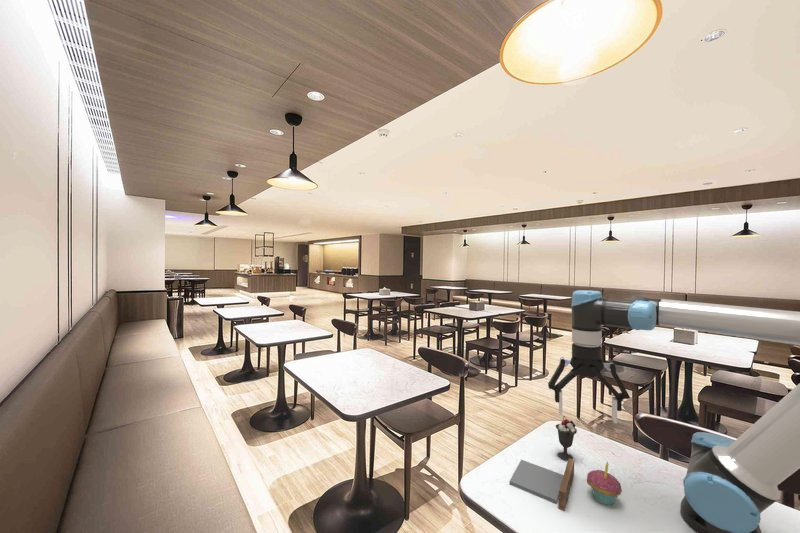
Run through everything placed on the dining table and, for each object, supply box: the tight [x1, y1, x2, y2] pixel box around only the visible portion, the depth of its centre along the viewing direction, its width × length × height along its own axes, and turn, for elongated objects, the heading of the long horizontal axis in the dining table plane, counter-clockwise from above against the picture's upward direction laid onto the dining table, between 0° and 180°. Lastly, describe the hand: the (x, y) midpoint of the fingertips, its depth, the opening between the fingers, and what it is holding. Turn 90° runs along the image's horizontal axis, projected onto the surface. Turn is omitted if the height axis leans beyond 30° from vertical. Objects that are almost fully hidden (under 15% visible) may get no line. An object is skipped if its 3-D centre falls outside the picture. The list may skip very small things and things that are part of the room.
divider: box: [557, 458, 575, 512], centre depth 95 cm, size 2×18×5 cm, turn 144°
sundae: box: [555, 415, 578, 462], centre depth 111 cm, size 7×7×15 cm
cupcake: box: [586, 461, 623, 506], centre depth 92 cm, size 9×8×12 cm
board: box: [509, 459, 564, 505], centre depth 99 cm, size 13×13×1 cm
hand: (586, 417), depth 93 cm, fingers open, 13 cm apart
